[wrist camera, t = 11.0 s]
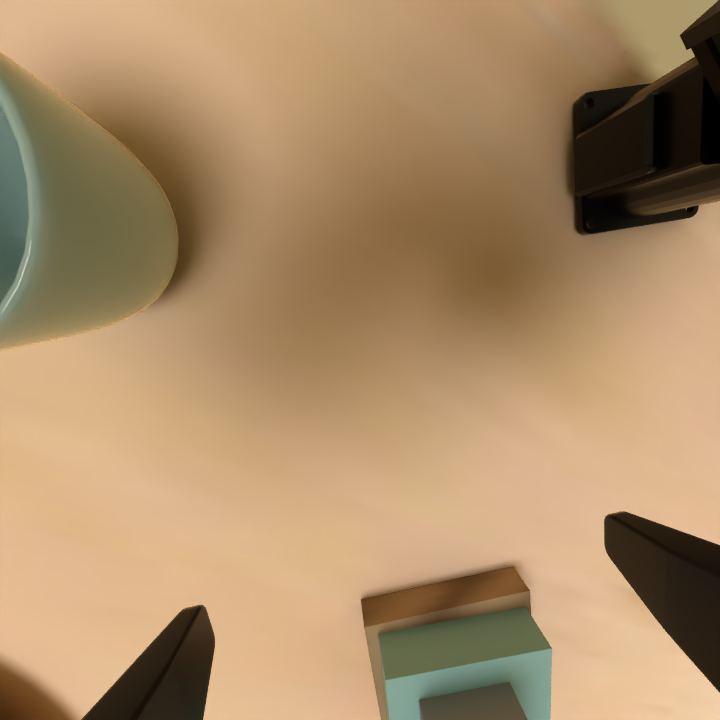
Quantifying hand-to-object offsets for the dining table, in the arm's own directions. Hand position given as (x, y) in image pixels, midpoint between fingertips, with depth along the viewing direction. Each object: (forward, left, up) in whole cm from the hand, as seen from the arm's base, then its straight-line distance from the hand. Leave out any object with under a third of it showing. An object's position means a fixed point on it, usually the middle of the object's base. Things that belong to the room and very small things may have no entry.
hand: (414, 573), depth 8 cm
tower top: (-3, +18, -10) cm, 21 cm away
